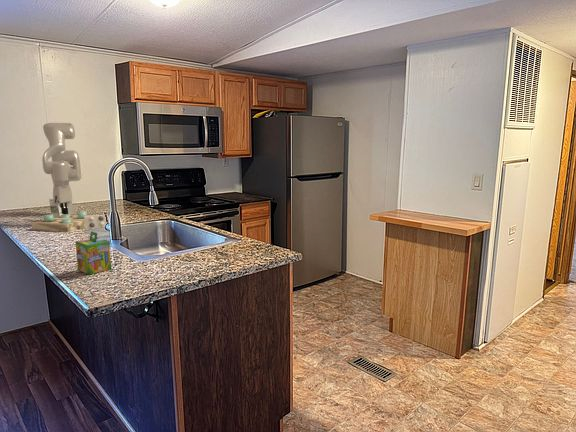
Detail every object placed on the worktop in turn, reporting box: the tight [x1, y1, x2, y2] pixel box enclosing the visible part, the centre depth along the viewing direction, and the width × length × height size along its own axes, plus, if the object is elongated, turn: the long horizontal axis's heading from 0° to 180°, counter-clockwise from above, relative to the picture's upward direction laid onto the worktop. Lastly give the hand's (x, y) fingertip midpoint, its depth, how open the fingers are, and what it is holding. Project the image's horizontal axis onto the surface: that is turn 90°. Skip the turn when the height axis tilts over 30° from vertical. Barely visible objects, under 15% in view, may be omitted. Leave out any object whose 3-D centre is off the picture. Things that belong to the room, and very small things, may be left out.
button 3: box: [76, 210, 88, 219], centre depth 238 cm, size 5×5×4 cm
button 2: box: [61, 219, 71, 223], centre depth 227 cm, size 5×5×4 cm
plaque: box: [84, 214, 107, 230], centre depth 230 cm, size 1×12×7 cm, turn 115°
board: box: [31, 214, 85, 233], centre depth 235 cm, size 24×24×4 cm
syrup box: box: [48, 196, 65, 217], centre depth 252 cm, size 6×6×14 cm
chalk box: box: [75, 231, 112, 276], centre depth 154 cm, size 9×9×15 cm
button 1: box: [43, 213, 54, 222], centre depth 230 cm, size 5×5×4 cm
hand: (65, 214), depth 242 cm, fingers closed
